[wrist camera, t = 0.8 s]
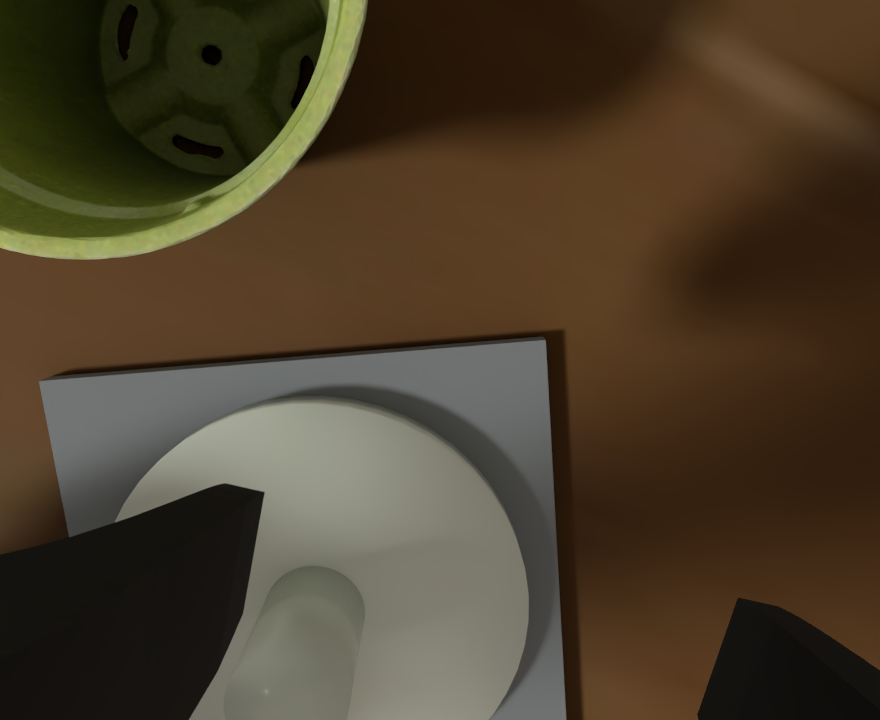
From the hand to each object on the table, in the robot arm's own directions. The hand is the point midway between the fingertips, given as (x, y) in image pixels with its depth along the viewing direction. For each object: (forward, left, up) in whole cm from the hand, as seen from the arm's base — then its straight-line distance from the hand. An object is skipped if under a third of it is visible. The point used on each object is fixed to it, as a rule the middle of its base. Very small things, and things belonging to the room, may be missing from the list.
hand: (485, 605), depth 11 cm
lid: (-4, -5, -10) cm, 12 cm away
